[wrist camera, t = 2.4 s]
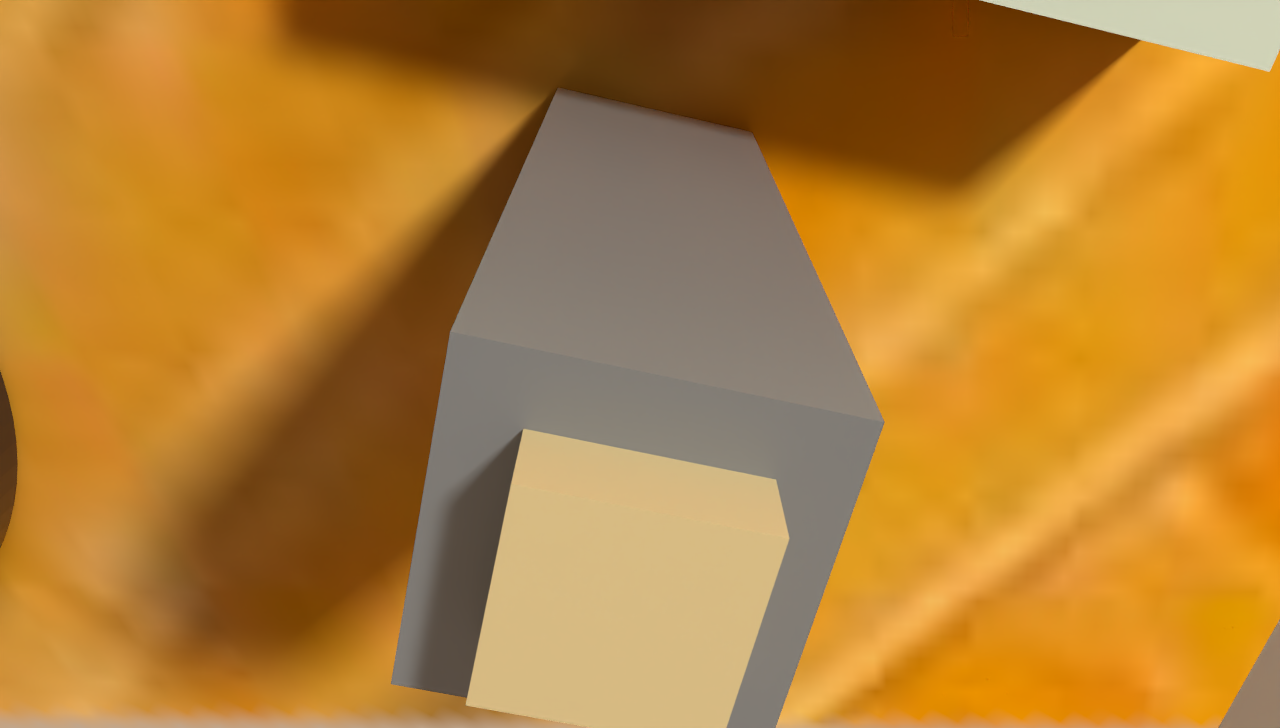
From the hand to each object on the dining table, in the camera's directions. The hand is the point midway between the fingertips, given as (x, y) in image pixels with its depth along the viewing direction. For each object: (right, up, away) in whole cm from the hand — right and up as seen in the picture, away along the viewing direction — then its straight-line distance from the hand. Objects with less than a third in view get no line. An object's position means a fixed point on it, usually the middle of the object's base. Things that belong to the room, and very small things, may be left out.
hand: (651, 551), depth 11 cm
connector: (0, +5, +12) cm, 13 cm away
